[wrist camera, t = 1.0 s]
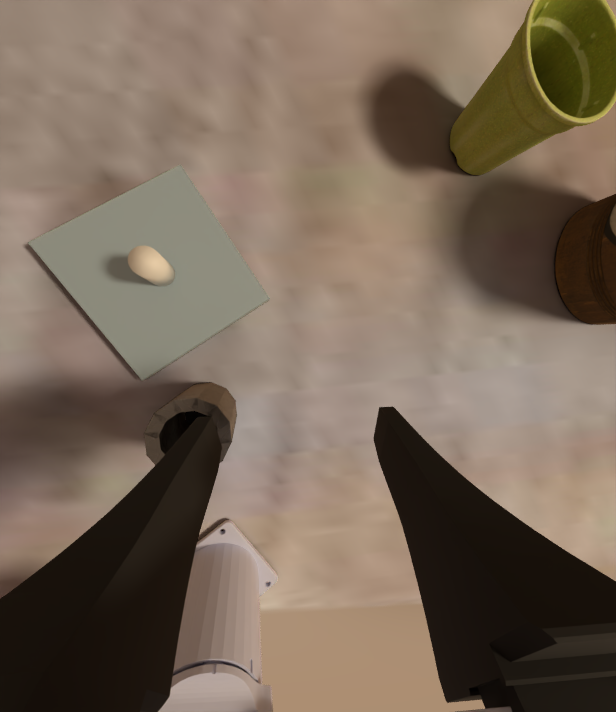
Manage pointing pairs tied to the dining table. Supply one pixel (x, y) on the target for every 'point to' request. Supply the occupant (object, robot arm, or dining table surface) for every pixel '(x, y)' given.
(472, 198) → the dining table surface
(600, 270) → the wooden container
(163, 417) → the tube
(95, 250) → the shaft plate
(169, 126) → the dining table surface
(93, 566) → the robot arm
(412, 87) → the dining table surface
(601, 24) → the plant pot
